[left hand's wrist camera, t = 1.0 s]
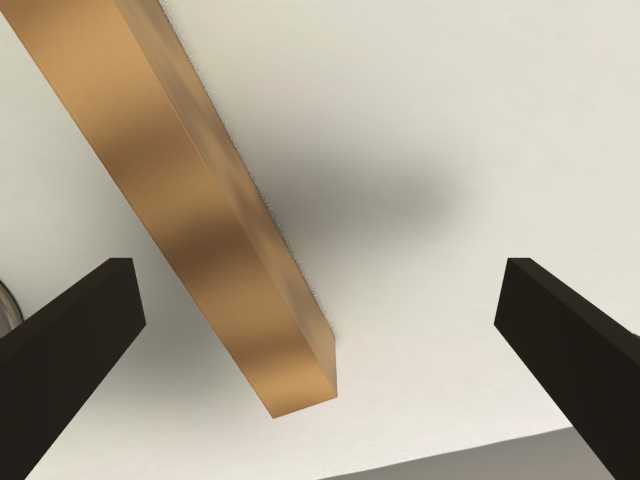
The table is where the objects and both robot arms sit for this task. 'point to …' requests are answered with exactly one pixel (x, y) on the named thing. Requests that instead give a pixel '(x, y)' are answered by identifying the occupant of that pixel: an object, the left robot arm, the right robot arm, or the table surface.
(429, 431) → the table surface
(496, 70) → the table surface
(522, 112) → the table surface
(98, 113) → the wooden beam
